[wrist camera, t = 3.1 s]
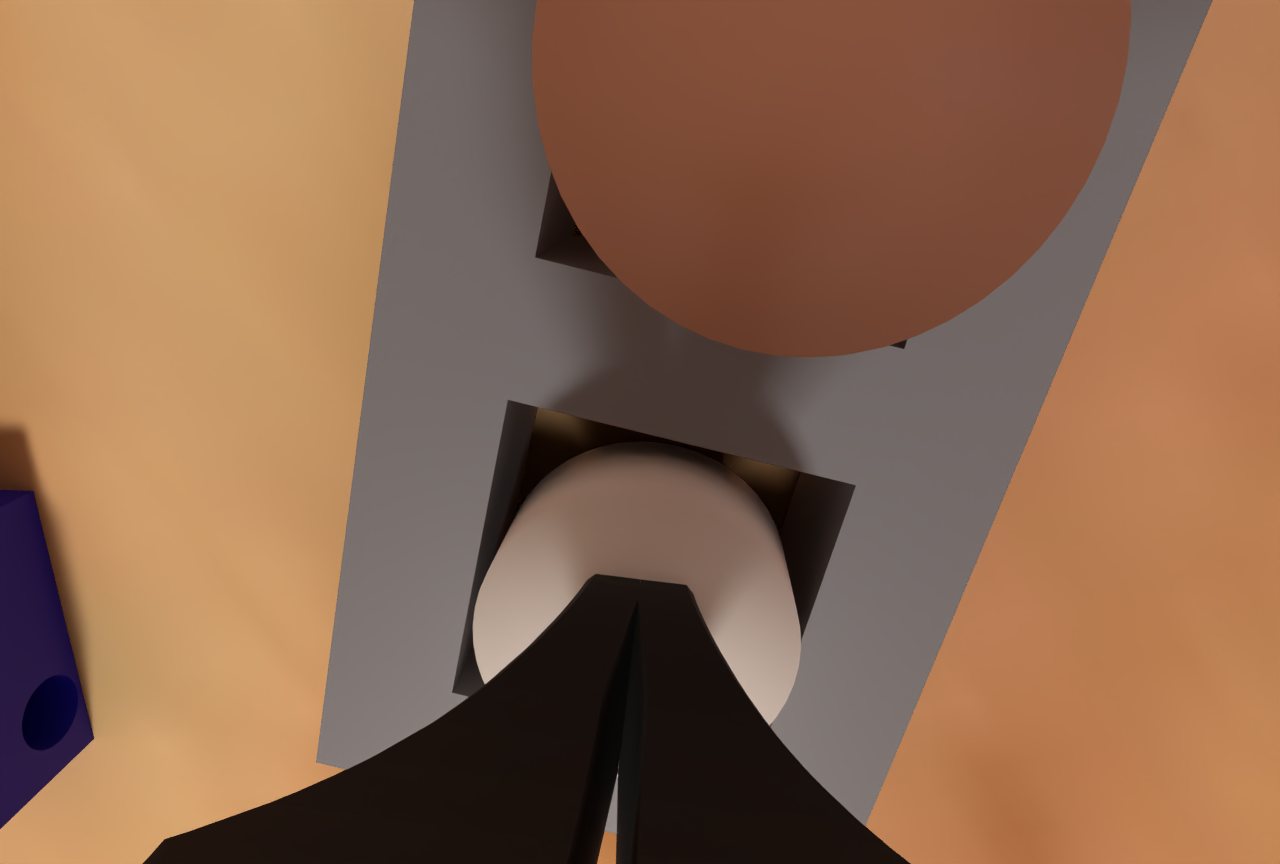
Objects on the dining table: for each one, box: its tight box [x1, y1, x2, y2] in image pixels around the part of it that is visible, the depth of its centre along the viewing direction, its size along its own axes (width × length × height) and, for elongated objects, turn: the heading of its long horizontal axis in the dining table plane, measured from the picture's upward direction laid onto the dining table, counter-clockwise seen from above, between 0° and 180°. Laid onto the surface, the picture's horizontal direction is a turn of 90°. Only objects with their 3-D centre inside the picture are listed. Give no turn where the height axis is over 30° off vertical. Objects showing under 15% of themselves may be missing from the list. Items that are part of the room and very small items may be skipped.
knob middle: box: [532, 0, 1131, 358], centre depth 8 cm, size 4×4×5 cm
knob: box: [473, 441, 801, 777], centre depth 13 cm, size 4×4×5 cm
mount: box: [316, 0, 1212, 834], centre depth 12 cm, size 9×23×4 cm, turn 167°
